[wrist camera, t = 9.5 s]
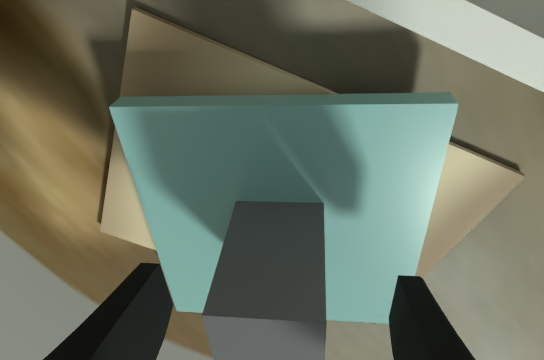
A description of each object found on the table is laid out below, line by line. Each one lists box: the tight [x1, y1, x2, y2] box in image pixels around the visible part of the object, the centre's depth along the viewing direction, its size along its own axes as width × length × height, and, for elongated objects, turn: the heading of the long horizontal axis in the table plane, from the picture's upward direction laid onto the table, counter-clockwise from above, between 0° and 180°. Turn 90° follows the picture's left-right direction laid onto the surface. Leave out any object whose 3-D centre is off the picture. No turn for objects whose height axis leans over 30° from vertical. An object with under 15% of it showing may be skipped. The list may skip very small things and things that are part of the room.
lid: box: [109, 92, 459, 360], centre depth 12 cm, size 10×10×6 cm
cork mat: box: [100, 7, 525, 325], centre depth 15 cm, size 14×10×1 cm
